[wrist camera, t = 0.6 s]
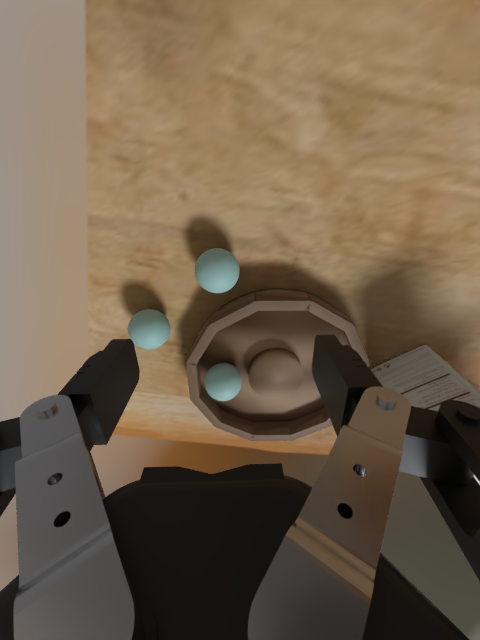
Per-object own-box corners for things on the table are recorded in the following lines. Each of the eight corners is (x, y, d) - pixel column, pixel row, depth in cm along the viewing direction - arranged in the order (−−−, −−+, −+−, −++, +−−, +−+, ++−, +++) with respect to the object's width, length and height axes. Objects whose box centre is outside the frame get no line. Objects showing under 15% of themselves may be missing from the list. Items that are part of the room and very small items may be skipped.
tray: (184, 288, 27) (179, 301, 25) (372, 288, 28) (387, 300, 25) (198, 421, 36) (195, 441, 34) (339, 420, 37) (347, 440, 34)
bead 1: (132, 302, 28) (117, 321, 25) (171, 302, 28) (162, 320, 25) (139, 335, 30) (126, 357, 26) (175, 335, 30) (167, 357, 26)
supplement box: (442, 383, 34) (543, 487, 23) (384, 407, 35) (451, 514, 24) (426, 341, 31) (534, 436, 20) (363, 369, 33) (429, 471, 21)
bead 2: (196, 243, 25) (189, 254, 22) (239, 243, 25) (239, 254, 22) (199, 284, 27) (193, 300, 24) (239, 283, 27) (239, 300, 24)
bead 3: (205, 355, 30) (201, 379, 27) (241, 355, 30) (242, 379, 27) (207, 383, 32) (203, 409, 28) (241, 383, 32) (242, 409, 28)
